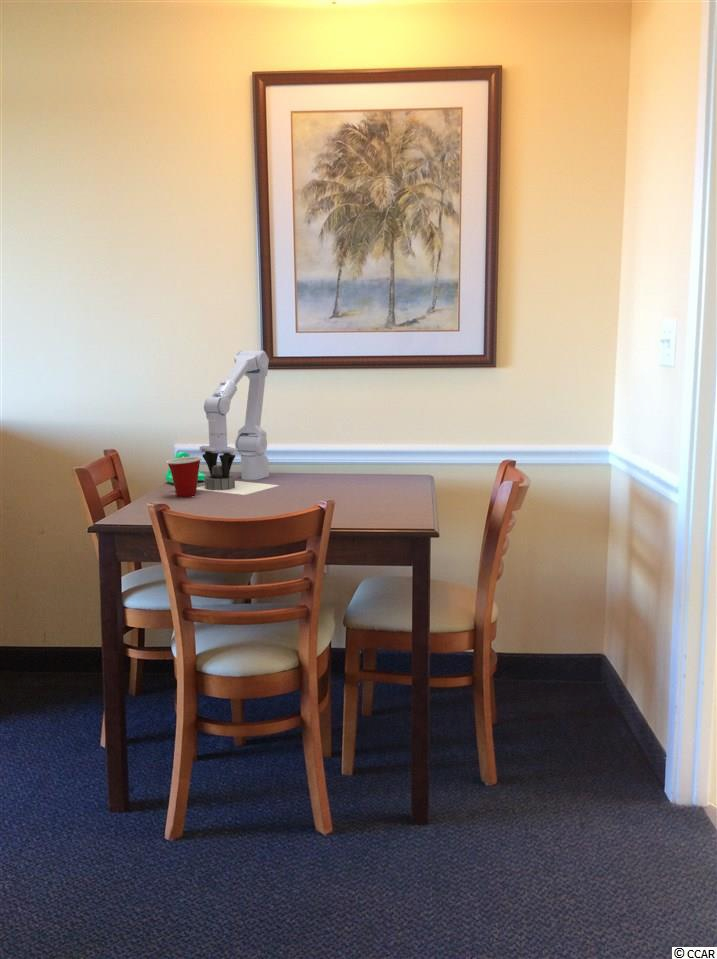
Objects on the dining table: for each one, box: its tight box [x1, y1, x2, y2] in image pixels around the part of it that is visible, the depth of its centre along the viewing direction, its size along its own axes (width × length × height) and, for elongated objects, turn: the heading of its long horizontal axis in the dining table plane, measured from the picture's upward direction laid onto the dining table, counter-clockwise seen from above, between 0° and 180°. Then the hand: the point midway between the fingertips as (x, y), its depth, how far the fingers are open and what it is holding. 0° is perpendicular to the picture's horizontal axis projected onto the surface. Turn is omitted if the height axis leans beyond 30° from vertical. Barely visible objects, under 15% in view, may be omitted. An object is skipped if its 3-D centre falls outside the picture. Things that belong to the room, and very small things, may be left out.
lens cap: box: [212, 464, 228, 479], centre depth 282 cm, size 5×5×4 cm
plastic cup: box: [166, 456, 202, 498], centre depth 273 cm, size 11×11×12 cm
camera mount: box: [164, 451, 207, 484], centre depth 297 cm, size 12×8×10 cm, turn 122°
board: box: [196, 474, 281, 496], centre depth 283 cm, size 18×22×4 cm
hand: (219, 475), depth 282 cm, fingers closed on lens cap, 5 cm apart
